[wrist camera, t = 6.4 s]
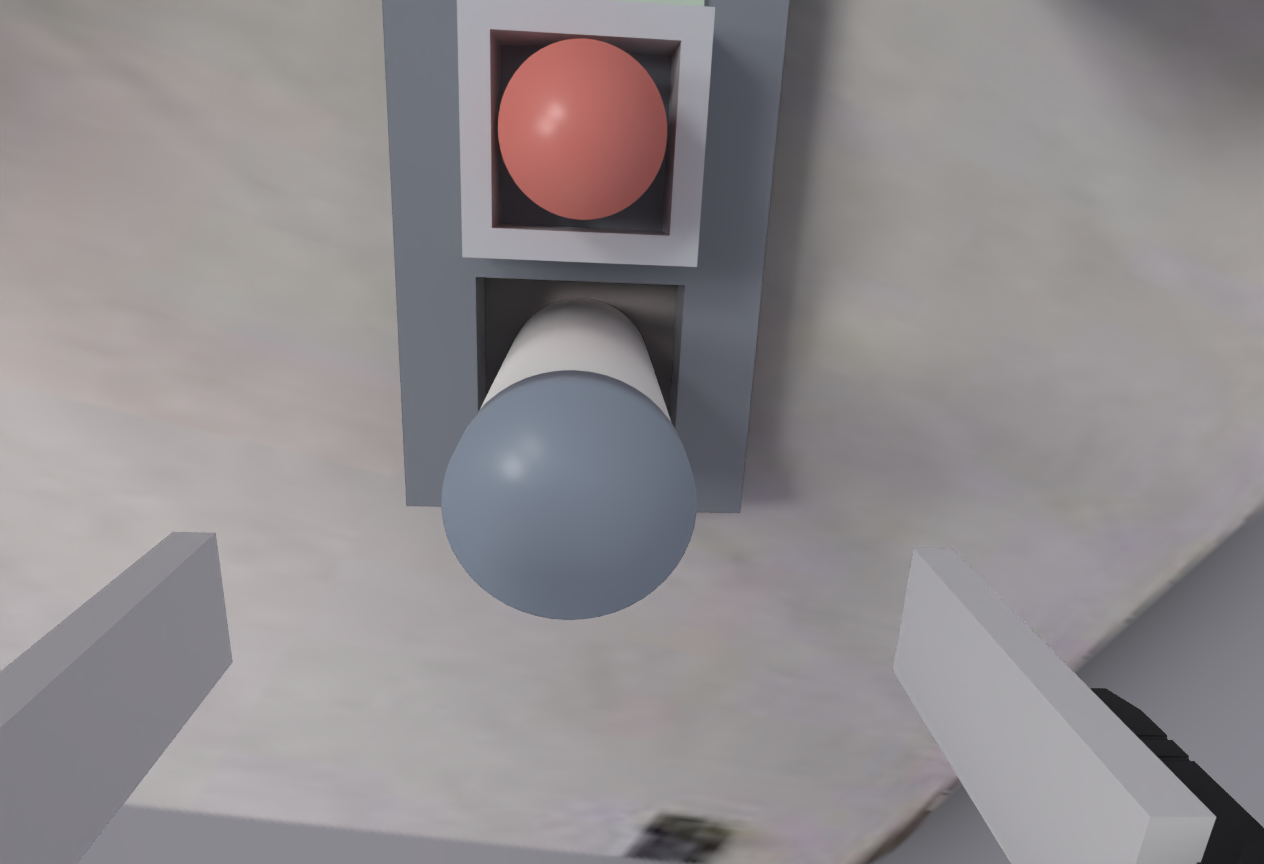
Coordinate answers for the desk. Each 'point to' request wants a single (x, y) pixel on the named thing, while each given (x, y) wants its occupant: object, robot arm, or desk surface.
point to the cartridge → (571, 471)
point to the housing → (571, 248)
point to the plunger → (582, 129)
